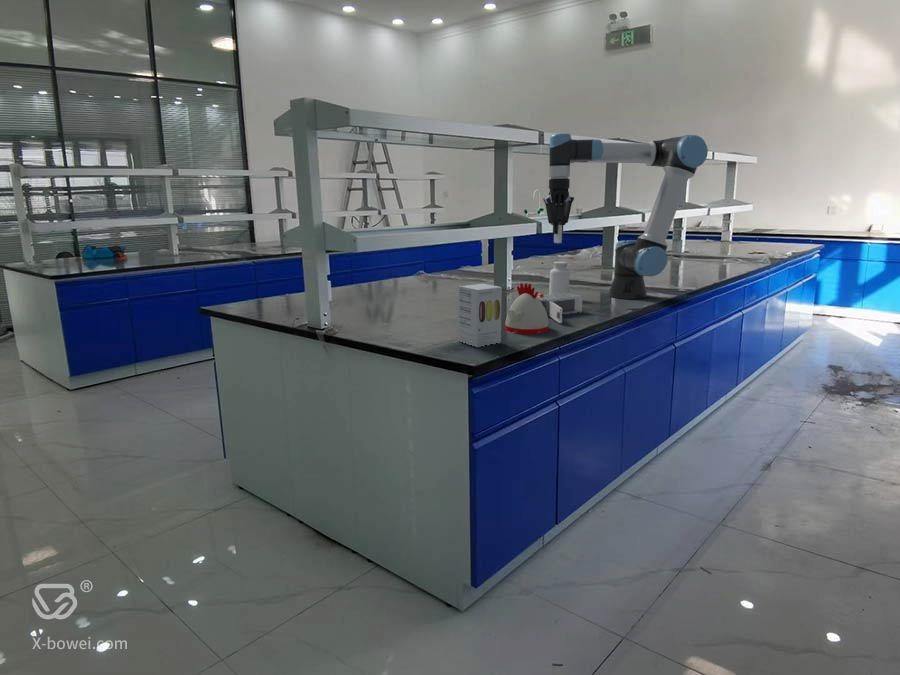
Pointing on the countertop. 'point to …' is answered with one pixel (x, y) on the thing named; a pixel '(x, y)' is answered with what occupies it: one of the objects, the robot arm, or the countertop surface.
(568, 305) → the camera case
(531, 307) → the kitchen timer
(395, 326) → the countertop surface
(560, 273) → the pill bottle
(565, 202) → the robot arm
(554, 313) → the thin white box
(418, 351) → the countertop surface
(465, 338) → the supplement box
